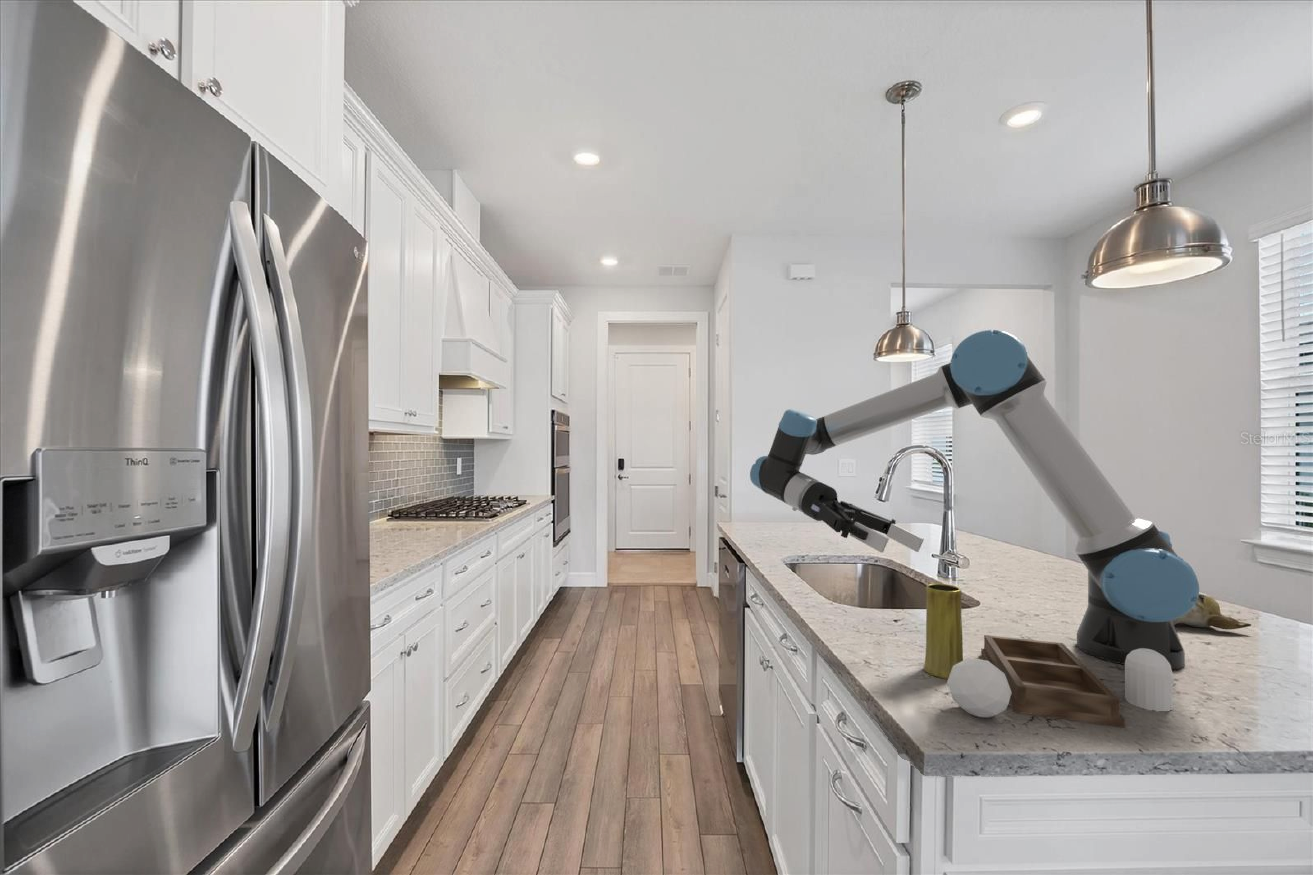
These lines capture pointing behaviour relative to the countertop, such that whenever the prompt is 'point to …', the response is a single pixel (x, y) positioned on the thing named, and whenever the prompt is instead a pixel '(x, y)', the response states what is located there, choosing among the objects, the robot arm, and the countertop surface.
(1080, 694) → the tray
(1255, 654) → the countertop surface
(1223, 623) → the ceramic sculpture
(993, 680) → the ball
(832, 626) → the countertop surface
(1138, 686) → the white dome-topped block
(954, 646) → the vase
